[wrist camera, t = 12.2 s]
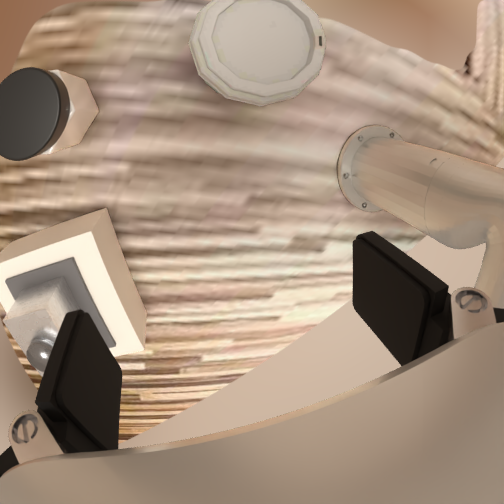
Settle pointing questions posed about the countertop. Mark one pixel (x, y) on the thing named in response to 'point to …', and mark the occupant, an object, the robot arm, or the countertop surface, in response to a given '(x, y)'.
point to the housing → (39, 319)
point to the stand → (81, 276)
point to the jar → (43, 112)
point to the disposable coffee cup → (258, 48)
